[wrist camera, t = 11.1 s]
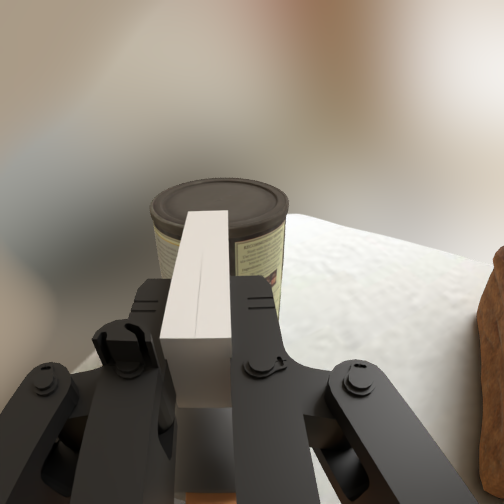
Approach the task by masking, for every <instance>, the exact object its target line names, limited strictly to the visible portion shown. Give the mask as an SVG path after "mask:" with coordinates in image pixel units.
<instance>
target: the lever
mask: <svg viewBox="0 0 504 504" xmlns="http://www.w3.org/2000/svg"><path fill="white" fill-rule="evenodd" d="M175 416H176V419H177V425H178V429H177V445H176V464H175V487H174V498H176V499H179V500H182V501H186V504H237V503H236V486H235V468H234V448H233V427H232V407H230V408H179V407H178V404H177V401H176V404H175Z"/></svg>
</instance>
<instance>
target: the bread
mask: <svg viewBox="0 0 504 504" xmlns="http://www.w3.org/2000/svg"><path fill="white" fill-rule="evenodd" d="M493 264H494V269H493V271H492V273H491V275H490V277H489V280H488V282H487V285H486V287H485V289H484V292H483V294H482V297H481V299H480V303H479V306H478V311H477V323H478V329H479V336H480V347H481V385H482V394H483V418H482V429H481V437H480V445H479V470H480V478H481V482H482V485H483V488H484V491H486V492H488V493H490V494H492V495H494V496H495V497H497V498H502V499H504V246H502V247H501V248H500V249H499V250H498V251H497V252H496V253H495V256H494V258H493Z"/></svg>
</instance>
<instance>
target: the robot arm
mask: <svg viewBox="0 0 504 504" xmlns="http://www.w3.org/2000/svg"><path fill="white" fill-rule="evenodd" d="M92 341H93V344H94V346H95V348H96V351H97V353H98V355H99V358H100V360H101V362H102V364H103V366H102V367H100V368H97V369H94V370H91V371H86V372H80V373H75V374H70V373H69V372H68V370H67V368H66V367H64V366H63V365H61V364H60V363H53V362H49V363H44V364H41V365H39V366H37V367H35V368H34V369H33V370H32V371H31V372H30V373H29V374H28V375H27V376H26V377H25V379H24V380H23V382H22V383H21V384H20V386H19V387H18V389H17V390H16V392H15V393H14V395H13V396H12V398H11V399H10V400H9V402H8V403H7V405H6V406H5V408H4V409H3V411H2V413H1V414H0V504H174V487H175V464H176V445H177V429H178V425H177V419H176V416H175V404H176V401H177V404H178V407H179V408H230V407H232V427H233V448H234V468H235V486H236V503H237V504H320V499H319V494H318V489H317V483H316V478H315V473H314V468H313V463H312V458H311V453H310V448H309V447H312V448H313V450H314V452H315V454H316V456H317V458H318V460H319V462H320V464H321V466H322V468H323V470H324V472H325V473H326V475H327V477H328V479H329V481H330V483H331V485H332V487H333V489H334V491H335V492H336V494H337V496H338V498H339V500H340V502H341V504H479V503H478V502H477V500H476V499H475V498H474V496H473V495H472V493H471V492H470V490H469V489H468V487H467V486H466V485H465V483H464V482H463V480H462V479H461V477H460V476H459V475H458V473H457V472H456V470H455V469H454V467H453V466H452V465H451V463H450V462H449V460H448V459H447V458H446V456H445V455H444V453H443V452H442V451H441V449H440V448H439V446H438V445H437V444H436V442H435V441H434V440H433V438H432V437H431V435H430V434H429V433H428V431H427V430H426V429H425V427H424V426H423V424H422V423H421V422H420V420H419V419H418V418H417V416H416V415H415V414H414V412H413V411H412V410H411V408H410V407H409V406H408V404H407V403H406V402H405V400H404V399H403V398H402V396H401V395H400V394H399V392H398V391H397V390H396V388H395V387H394V386H393V384H392V383H391V382H390V380H389V379H388V378H387V376H386V375H385V374H384V372H383V371H381V370H380V369H379V368H378V367H377V366H376V365H374V364H372V363H369V362H367V361H363V360H356V359H354V360H348V361H344V362H342V363H340V364H338V365H336V366H335V367H334V369H333V370H332V371H326V370H320V369H314V368H310V367H306V366H303V365H301V364H299V363H297V362H295V361H294V360H293V359H292V358H290V356H289V355H288V354H287V352H286V351H285V348H284V346H283V341H282V336H281V331H280V326H279V321H278V316H277V312H276V308H275V302H274V298H273V292H272V287H271V284H270V283H269V282H268V281H267V280H266V279H265V278H264V277H263V276H262V275H252V276H229V241H228V210H222V211H188V214H187V218H186V222H185V226H184V230H183V234H182V238H181V242H180V246H179V250H178V255H177V259H176V263H175V267H174V272H173V276H172V278H171V279H147V280H146V281H145V282H144V283H143V284H142V285H141V286H140V287H139V288H138V290H137V293H136V296H135V299H134V303H133V305H132V308H131V313H130V314H129V317H128V319H123V320H115V321H113V322H111V323H108V324H106V325H104V326H103V327H101V328H100V329H99V330H97V332H96V333H95V335H94V336H93V338H92Z"/></svg>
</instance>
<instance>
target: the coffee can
mask: <svg viewBox="0 0 504 504" xmlns="http://www.w3.org/2000/svg"><path fill="white" fill-rule="evenodd" d="M288 207H289V200H288V198H287V196H286V194H285V193H284V192H282V191H281V190H279V189H278V188H275V187H274V186H271V185H268V184H266V183H263V182H259V181H255V180H249V179H241V178H240V179H239V178H211V179H201V180H195V181H190V182H187V183H182V184H179V185H176V186H173V187H171V188H168V189H167V190H165V191H163V192H161V193H160V194H158V195H157V196H156V197H155V198H154V199H153V200H152V202H151V204H150V213H151V217H152V220H153V223H154V230H155V237H156V244H157V251H158V257H159V262H160V269H161V275H162V279H171V278H172V276H173V272H174V267H175V263H176V259H177V255H178V250H179V246H180V242H181V238H182V234H183V230H184V226H185V222H186V218H187V214H188V211H222V210H228V241H229V276H252V275H262V276H263V277H264V278H265V279H266V280H267V281H268V282H269V283H270V284H271V287H272V292H273V298H274V302H275V308H276V312H277V316H278V321H279V309H280V297H281V284H282V270H283V258H284V241H285V224H286V215H287V212H288Z"/></svg>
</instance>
